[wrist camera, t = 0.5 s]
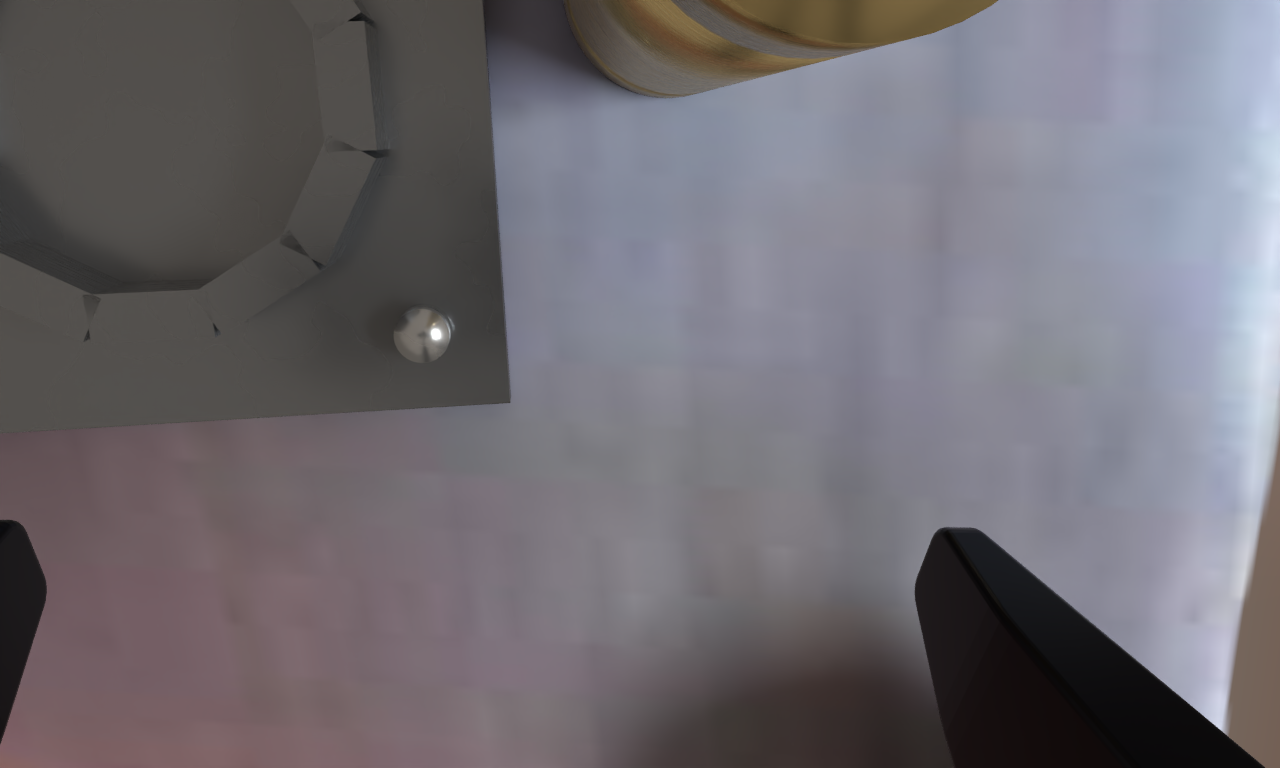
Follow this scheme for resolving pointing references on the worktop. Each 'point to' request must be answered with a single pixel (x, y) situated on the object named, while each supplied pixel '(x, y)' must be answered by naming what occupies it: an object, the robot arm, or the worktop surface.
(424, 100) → the floor flange
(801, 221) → the worktop surface
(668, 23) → the brass cylinder
